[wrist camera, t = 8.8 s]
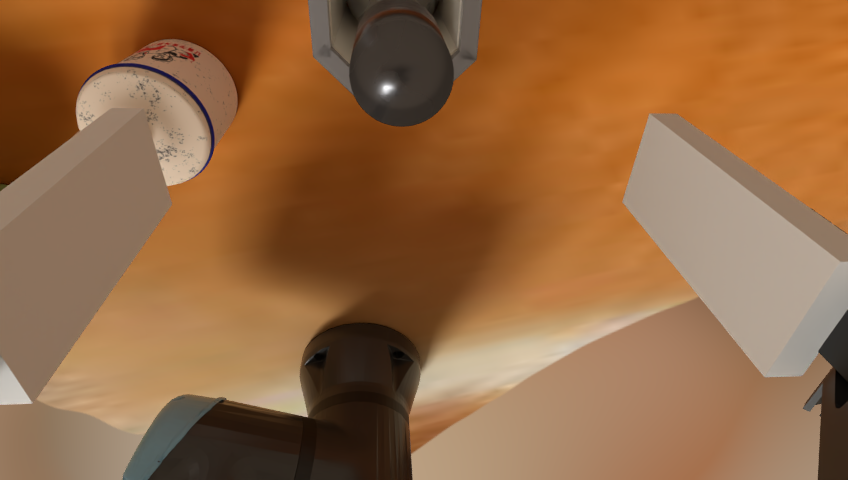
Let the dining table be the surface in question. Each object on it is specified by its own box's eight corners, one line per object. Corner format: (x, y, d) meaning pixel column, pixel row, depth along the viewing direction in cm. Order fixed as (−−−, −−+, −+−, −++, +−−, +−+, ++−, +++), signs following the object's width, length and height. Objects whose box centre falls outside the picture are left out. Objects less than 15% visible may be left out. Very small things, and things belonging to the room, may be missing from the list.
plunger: (432, 39, 37) (472, 149, 20) (352, 37, 36) (328, 148, 20) (436, -53, 33) (488, -9, 17) (348, -57, 33) (314, -14, 17)
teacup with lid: (206, 19, 39) (148, 58, 29) (260, 123, 44) (226, 185, 34) (73, 65, 40) (-24, 117, 30) (141, 161, 45) (76, 231, 36)
